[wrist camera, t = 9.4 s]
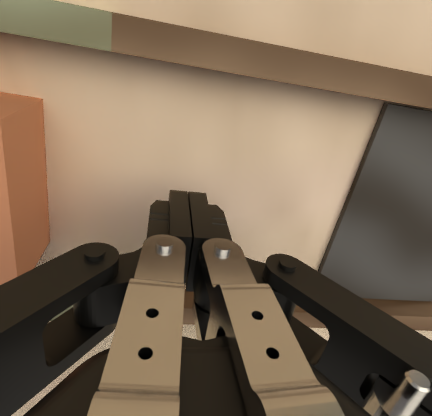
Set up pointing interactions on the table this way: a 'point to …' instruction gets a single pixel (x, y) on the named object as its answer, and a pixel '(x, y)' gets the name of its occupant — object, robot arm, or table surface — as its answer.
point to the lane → (317, 78)
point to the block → (22, 185)
